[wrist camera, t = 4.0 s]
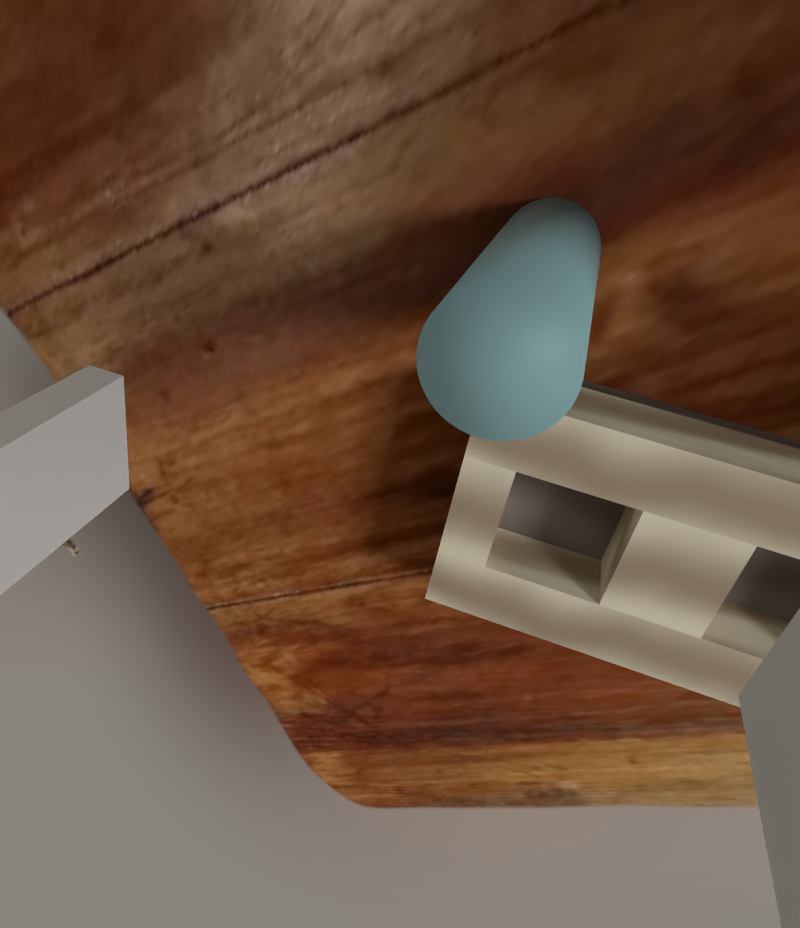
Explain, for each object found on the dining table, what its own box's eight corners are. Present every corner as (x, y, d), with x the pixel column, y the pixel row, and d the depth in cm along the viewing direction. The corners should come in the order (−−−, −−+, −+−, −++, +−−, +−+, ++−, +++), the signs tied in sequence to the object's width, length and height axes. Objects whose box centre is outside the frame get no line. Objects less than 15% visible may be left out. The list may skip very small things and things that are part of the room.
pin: (513, 186, 32) (434, 261, 19) (616, 211, 31) (609, 307, 18) (487, 286, 35) (402, 414, 21) (582, 312, 34) (554, 460, 21)
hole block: (498, 355, 36) (482, 391, 32) (967, 488, 33) (1016, 548, 29) (443, 549, 44) (425, 598, 40) (820, 674, 40) (843, 742, 36)
